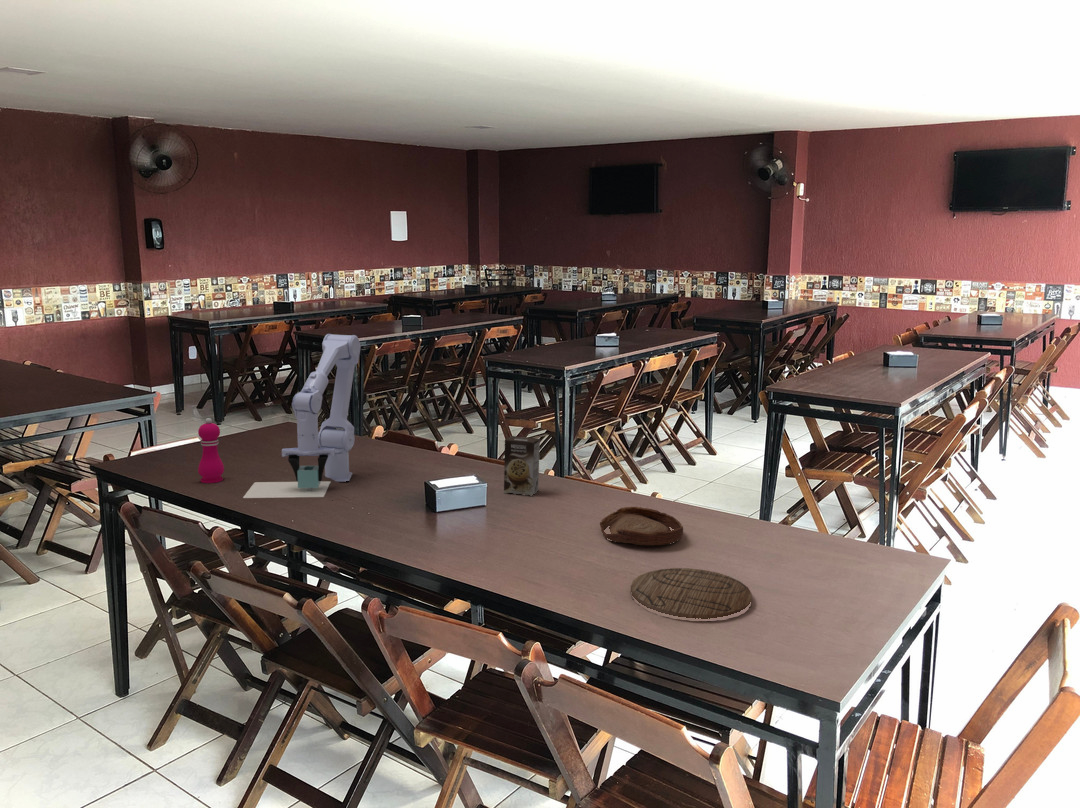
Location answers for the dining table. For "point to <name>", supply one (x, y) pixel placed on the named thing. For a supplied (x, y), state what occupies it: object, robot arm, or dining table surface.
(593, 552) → the dining table surface
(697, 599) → the trivet
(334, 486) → the dining table surface
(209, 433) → the pepper mill
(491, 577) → the dining table surface
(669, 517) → the basket
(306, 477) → the teal square tube
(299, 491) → the key plate
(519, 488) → the brown cardboard box
